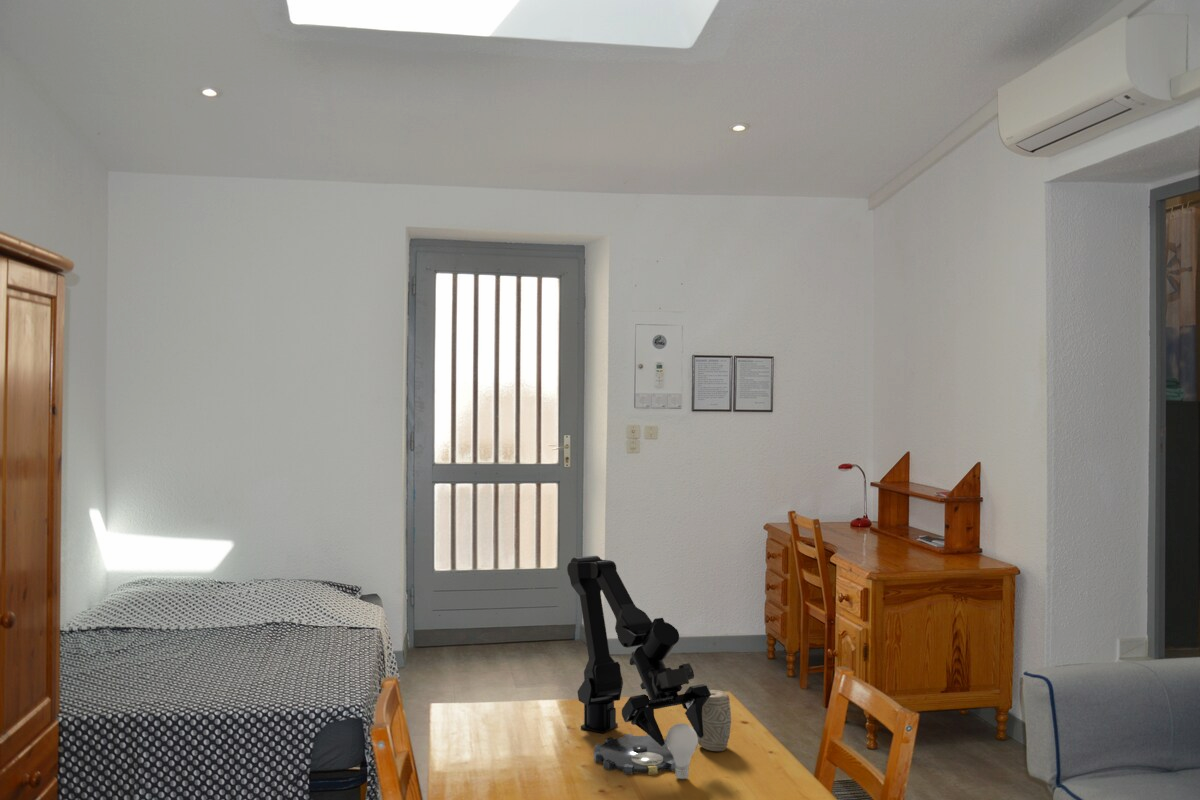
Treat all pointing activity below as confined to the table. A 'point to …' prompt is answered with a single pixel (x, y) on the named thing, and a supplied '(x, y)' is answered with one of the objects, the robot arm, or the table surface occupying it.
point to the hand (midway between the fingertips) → (682, 741)
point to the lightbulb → (682, 747)
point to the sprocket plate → (634, 755)
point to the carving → (716, 721)
